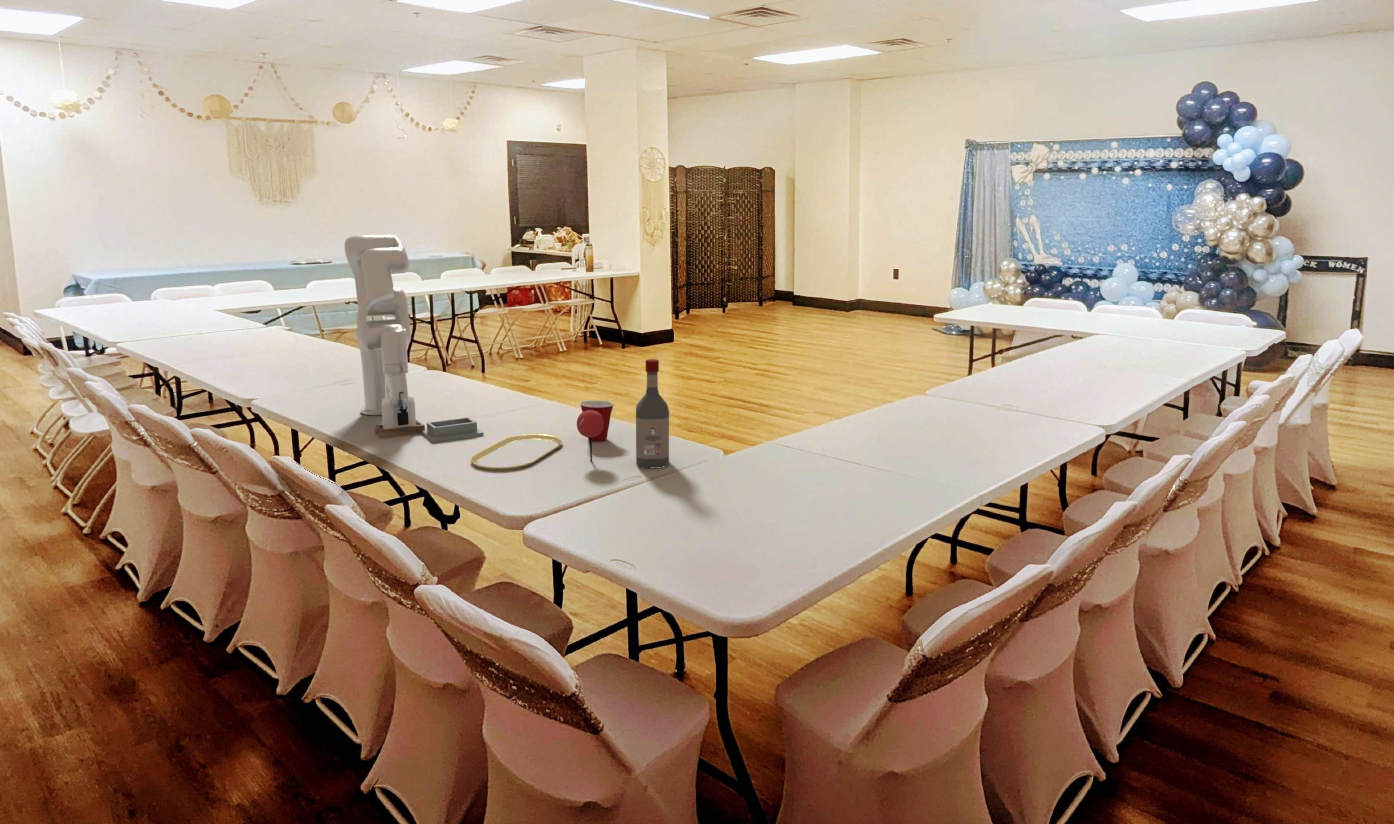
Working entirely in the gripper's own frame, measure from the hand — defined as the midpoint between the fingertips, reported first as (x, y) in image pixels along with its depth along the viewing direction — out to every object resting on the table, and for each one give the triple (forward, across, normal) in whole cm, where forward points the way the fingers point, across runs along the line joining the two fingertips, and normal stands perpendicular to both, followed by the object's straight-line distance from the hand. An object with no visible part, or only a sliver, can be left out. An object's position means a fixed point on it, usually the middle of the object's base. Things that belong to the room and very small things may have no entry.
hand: (399, 421), depth 286 cm
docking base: (+4, +10, +14) cm, 18 cm away
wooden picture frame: (+4, 0, 0) cm, 4 cm away
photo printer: (+4, 0, 0) cm, 4 cm away
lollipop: (+4, +58, +38) cm, 70 cm away
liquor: (+4, +70, +52) cm, 87 cm away
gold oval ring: (+4, +40, +24) cm, 47 cm away
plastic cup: (+4, +38, +50) cm, 64 cm away
